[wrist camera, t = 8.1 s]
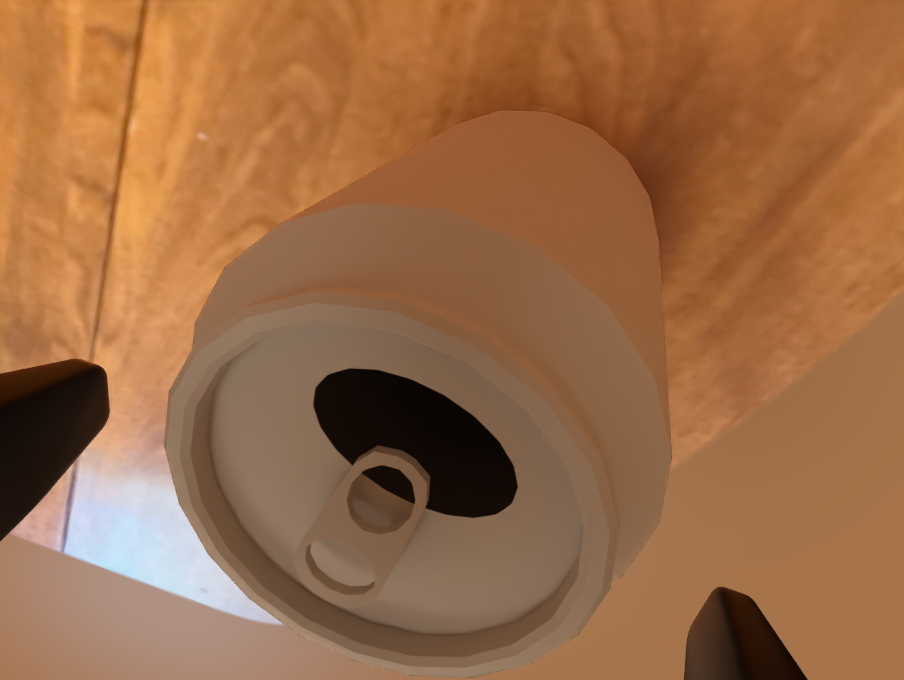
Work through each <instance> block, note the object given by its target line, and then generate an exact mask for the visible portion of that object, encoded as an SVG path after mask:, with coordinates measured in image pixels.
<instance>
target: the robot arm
mask: <svg viewBox="0 0 904 680" xmlns="http://www.w3.org/2000/svg"><path fill="white" fill-rule="evenodd" d="M109 412H110V407H109V395H108V383H107V374H106V372H105V370H104V368H102V367H101V366H99V365H96V364H93V363H90V362H87V361H85V360H81V359H70V360H65V361H60V362H56V363H51V364H46V365H41V366H36V367H31V368H26V369H21V370H17V371H12V372H7V373H2V374H0V541H1V540H2V539H3V538H4V537H5V536H6V535H7V534H8V533H9V532H10V531H11V530H12V529H14V528H15V527H16V526H17V525H18V524H19V523H20V522H21V521H22V520H23V519H24V518H25V517H26V516H27V515H28V514H29V513H30V512H31V511H32V510H33V509H34V508H35V506H36V505H37V504H38V503H39V502H40V501H41V500H42V499H43V498H44V496H45V495H46V494H47V493H48V492H49V491H50V490H51V488H52V487H53V486H54V485H55V484H56V483H57V481H58V480H59V479H60V478H61V477H62V475H63V474H64V473H65V472H66V471H67V470H68V468H69V467H70V466H71V465H72V464H73V463H74V461H75V460H76V459H77V458H78V457H79V455H80V454H81V453H82V452H83V451H84V450H85V448H86V447H87V446H88V445H89V444H90V443H91V441H92V440H93V439H94V438H95V437H96V436H97V434H98V433H99V432H100V431H101V430H102V428H103V427H104V426H105V424H106V422H107V420H108V417H109ZM684 680H808V679H807V678H806V676H805V675H804V674H803V672H802V671H801V669H800V668H799V666H798V665H797V663H796V662H795V660H794V659H793V657H792V656H791V654H790V653H789V652H788V650H787V649H786V647H785V646H784V644H783V643H782V641H781V640H780V638H779V637H778V635H777V634H776V632H775V631H774V630H773V628H772V627H771V625H770V624H769V622H768V621H767V619H766V618H765V617H764V615H763V613H762V612H761V610H760V609H759V607H758V606H757V605H756V603H755V602H754V601H753V599H751V598H750V597H749V596H747V595H745V594H742V593H739V592H736V591H734V590H731V589H728V588H725V587H717V588H716V589H714V590H713V591H712V593H711V594H710V596H709V597H708V599H707V600H706V602H705V604H704V605H703V607H702V609H701V610H700V612H699V613H698V615H697V617H696V618H695V620H694V621H693V623H692V625H691V627H690V630H689V633H688V638H687V645H686V659H685V673H684Z"/></svg>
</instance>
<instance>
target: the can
mask: <svg viewBox="0 0 904 680" xmlns="http://www.w3.org/2000/svg"><path fill="white" fill-rule="evenodd" d="M164 447H165V451H166V455H167V459H168V463H169V466H170V470H171V474H172V478H173V482H174V486H175V490H176V494H177V498H178V501H179V504H180V506H181V508H182V510H183V511H184V513H185V515H186V516H187V518H188V520H189V522H190V523H191V525H192V527H193V529H194V530H195V532H196V534H197V536H198V537H199V539H200V541H201V543H202V544H203V546H204V548H205V549H206V551H207V553H208V555H209V556H210V557H211V558H212V559H213V560H214V561H215V562H216V563H217V564H218V565H219V567H220V568H221V569H222V570H223V571H224V572H225V573H226V574H227V575H228V576H229V577H230V578H231V580H232V581H233V582H234V583H235V584H236V585H237V586H238V587H239V588H240V589H241V590H242V591H243V593H244V594H245V595H246V596H247V597H248V598H249V599H250V600H252V601H253V602H254V603H256V604H257V605H259V606H260V607H261V608H263V609H264V610H265V611H267V612H268V613H270V614H271V615H272V616H274V617H275V618H276V619H278V620H279V621H281V622H282V623H283V624H285V625H286V626H287V627H289V628H290V629H292V630H293V631H294V632H296V633H297V634H298V635H301V636H303V637H305V638H307V639H309V640H311V641H313V642H315V643H317V644H320V645H322V646H324V647H326V648H328V649H330V650H332V651H334V652H336V653H338V654H341V655H343V656H345V657H347V658H349V659H351V660H353V661H357V662H360V663H364V664H368V665H372V666H377V667H380V668H384V669H388V670H392V671H396V672H400V673H403V674H408V675H411V676H434V677H464V678H467V677H468V678H472V677H477V676H481V675H485V674H489V673H494V672H498V671H502V670H507V669H511V668H515V667H520V666H524V665H528V664H532V663H534V662H535V661H537V660H539V659H540V658H542V657H543V656H545V655H547V654H548V653H550V652H551V651H553V650H555V649H556V648H558V647H559V646H561V645H563V644H564V643H566V642H567V641H569V640H570V639H572V638H574V637H575V636H577V635H579V633H580V632H581V630H582V629H583V628H584V626H585V624H586V623H587V621H588V620H589V619H590V617H591V616H592V615H593V613H594V612H595V610H596V609H597V607H598V606H599V604H600V603H601V601H602V600H603V599H604V597H605V596H606V594H607V593H608V591H609V590H610V588H611V583H613V582H614V581H616V580H617V579H619V578H620V577H622V576H623V575H624V573H625V572H626V571H627V569H628V568H629V566H630V565H631V564H632V562H633V561H634V559H635V557H636V556H637V555H638V553H639V552H640V550H641V549H642V548H643V546H644V545H645V543H646V542H647V540H648V539H649V538H650V536H651V535H652V533H653V532H654V530H655V529H656V528H657V526H658V525H659V522H660V516H661V511H662V506H663V501H664V496H665V490H666V485H667V480H668V475H669V470H670V465H671V460H672V448H671V432H670V416H669V399H668V383H667V367H666V351H665V335H664V319H663V303H662V287H661V271H660V255H659V241H658V235H657V230H656V225H655V220H654V215H653V210H652V205H651V200H650V197H649V195H648V194H647V192H646V190H645V188H644V187H643V185H642V183H641V182H640V180H639V178H638V177H637V175H636V173H635V172H634V170H633V168H632V166H631V165H630V163H629V161H628V160H627V158H625V157H624V156H623V155H622V154H621V153H620V152H618V151H617V150H616V149H615V148H614V147H612V146H611V145H610V144H609V143H608V142H606V141H605V140H604V139H603V138H602V137H601V136H599V135H598V134H597V133H596V132H595V131H593V130H592V129H591V128H588V127H586V126H583V125H581V124H578V123H575V122H573V121H570V120H568V119H565V118H562V117H560V116H557V115H555V114H552V113H549V112H543V111H511V110H500V111H497V112H494V113H490V114H487V115H484V116H481V117H478V118H474V119H471V120H468V121H465V122H462V123H458V124H457V125H455V126H453V127H451V128H450V129H448V130H446V131H444V132H442V133H441V134H439V135H437V136H435V137H434V138H432V139H430V140H428V141H426V142H425V143H423V144H421V145H419V146H418V147H416V148H414V149H412V150H410V151H409V152H407V153H405V154H403V155H401V156H400V157H398V158H396V159H394V160H393V161H391V162H389V163H387V164H385V165H384V166H382V167H380V168H378V169H377V170H375V171H373V172H371V173H369V174H368V175H366V176H364V177H362V178H361V179H359V180H357V181H355V182H353V183H352V184H350V185H348V186H346V187H344V188H343V189H341V190H339V191H337V192H336V193H334V194H332V195H330V196H328V197H327V198H325V199H323V200H321V201H320V202H318V203H316V204H314V205H312V206H311V207H309V208H307V209H305V210H304V211H302V212H300V213H298V214H296V215H295V216H293V217H291V218H289V219H287V220H286V221H284V222H282V223H280V224H279V225H277V226H276V227H275V228H274V229H272V230H271V231H270V232H269V233H267V234H266V235H265V236H263V237H262V238H261V239H260V240H258V241H257V242H256V243H254V244H253V245H252V246H251V247H249V248H248V249H247V250H246V251H244V252H243V253H242V254H240V255H239V256H238V257H237V258H235V259H234V260H233V261H232V262H230V263H229V264H228V265H226V266H225V267H224V269H223V271H222V273H221V275H220V277H219V279H218V280H217V282H216V284H215V286H214V288H213V290H212V291H211V293H210V295H209V297H208V299H207V301H206V303H205V304H204V306H203V308H202V310H201V312H200V314H199V316H198V317H197V319H196V321H195V327H194V336H193V345H192V351H191V352H190V354H189V356H188V358H187V360H186V361H185V363H184V365H183V367H182V369H181V370H180V372H179V374H178V376H177V378H176V379H175V381H174V383H173V385H172V387H171V389H170V390H169V397H168V408H167V419H166V430H165V441H164Z"/></svg>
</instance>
